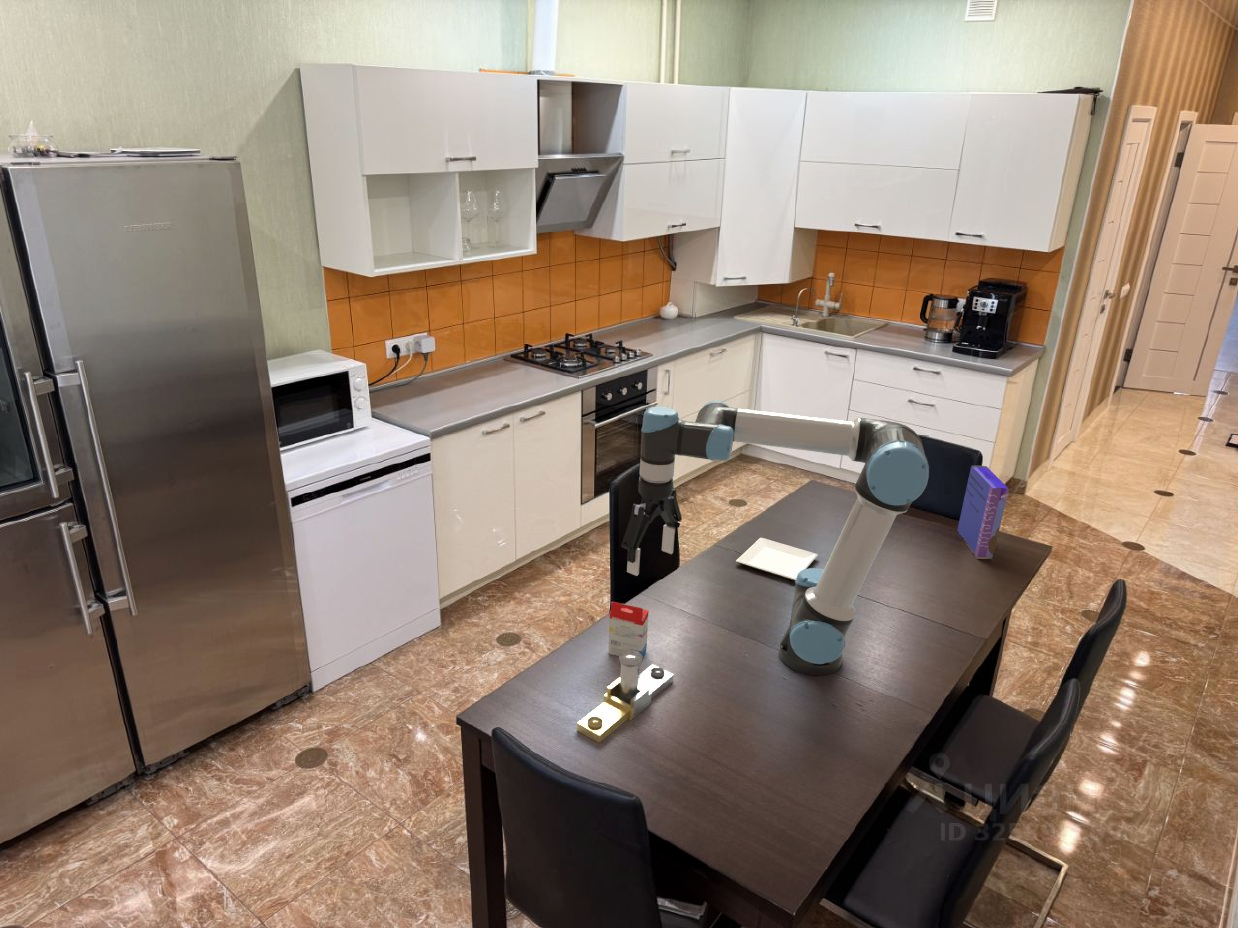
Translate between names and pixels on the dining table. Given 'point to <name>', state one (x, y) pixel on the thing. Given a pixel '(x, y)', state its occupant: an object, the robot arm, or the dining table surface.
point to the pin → (629, 674)
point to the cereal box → (982, 510)
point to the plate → (777, 558)
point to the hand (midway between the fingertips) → (650, 562)
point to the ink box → (627, 629)
